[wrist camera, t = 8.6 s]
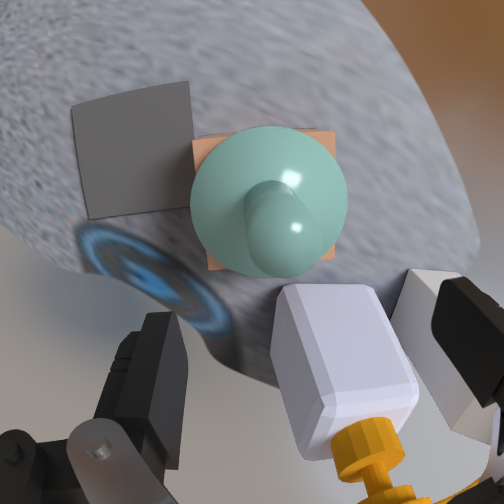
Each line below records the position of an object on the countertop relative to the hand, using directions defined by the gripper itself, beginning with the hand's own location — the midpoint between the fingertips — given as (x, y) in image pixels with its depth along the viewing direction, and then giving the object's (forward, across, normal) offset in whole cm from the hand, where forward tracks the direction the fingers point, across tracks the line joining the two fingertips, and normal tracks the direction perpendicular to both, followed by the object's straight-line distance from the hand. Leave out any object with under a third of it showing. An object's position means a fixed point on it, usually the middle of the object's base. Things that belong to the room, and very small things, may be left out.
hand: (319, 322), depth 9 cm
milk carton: (+18, -17, +13) cm, 28 cm away
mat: (+18, +10, -4) cm, 21 cm away
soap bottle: (+18, -7, +14) cm, 24 cm away
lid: (+13, 0, 0) cm, 13 cm away
